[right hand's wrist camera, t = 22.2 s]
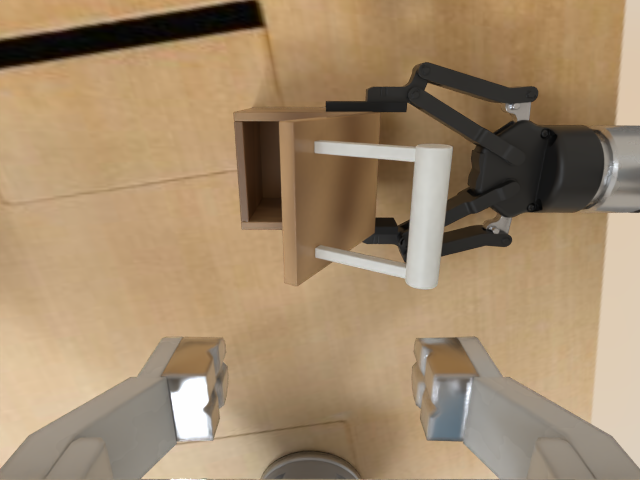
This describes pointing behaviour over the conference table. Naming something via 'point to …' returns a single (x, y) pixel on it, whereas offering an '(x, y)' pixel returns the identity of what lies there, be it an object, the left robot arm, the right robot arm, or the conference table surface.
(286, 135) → the lid
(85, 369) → the conference table surface
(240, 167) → the chest
